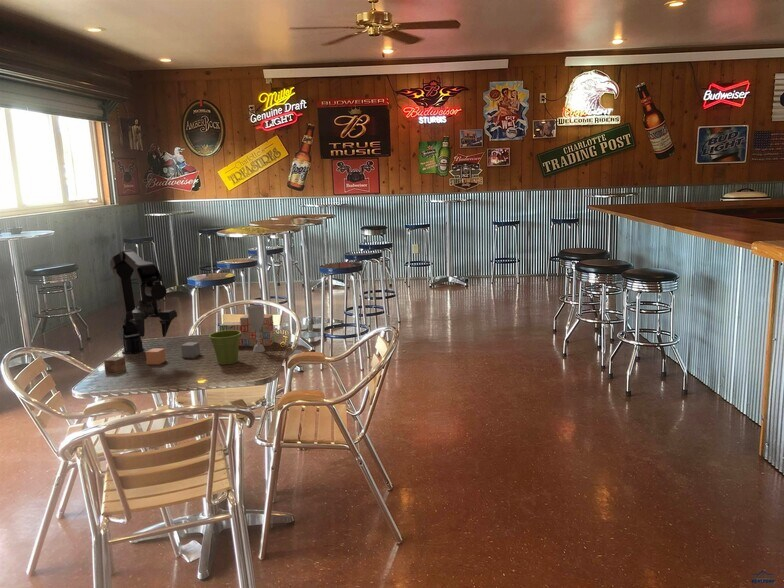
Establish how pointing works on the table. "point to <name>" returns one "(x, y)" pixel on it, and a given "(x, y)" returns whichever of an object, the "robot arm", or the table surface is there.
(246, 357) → the table surface
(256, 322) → the chalice
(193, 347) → the slate cube
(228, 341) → the plant pot
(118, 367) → the walnut cube
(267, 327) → the stack of blocks
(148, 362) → the terracotta cube
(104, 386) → the table surface
